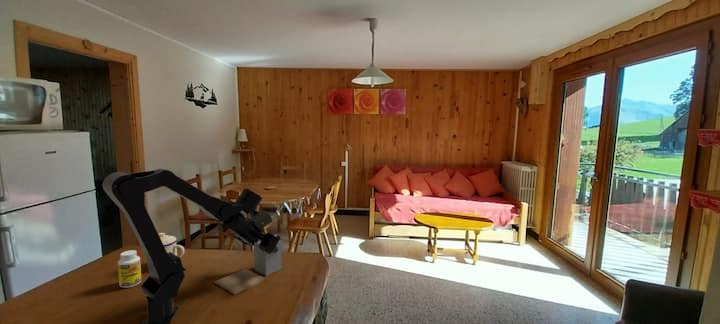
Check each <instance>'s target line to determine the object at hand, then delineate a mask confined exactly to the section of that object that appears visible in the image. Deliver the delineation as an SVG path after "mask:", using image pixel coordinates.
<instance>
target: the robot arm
mask: <svg viewBox="0 0 720 324" xmlns="http://www.w3.org/2000/svg"><path fill="white" fill-rule="evenodd" d="M101 185H102V188H103V191H104V193H106V195H107V196H108V197H109V198H110V199H111V201H112V202H113V203H114V204H115V205H116V206H117V207H118V208H119V209H120V210H121V211H122V212H123V214H124V216H125V217H126V220H127V221H128V224H129V226H130V227H131V229H132V232H133V234H134V235H135V237H136V239H137V241H138V243H139V245H140V247H141V249H142V251H143V253H144V254H145V256H146V258H147V271H148V275H149V276H148V277H147V278H146V279H145V280H144V281H143V282H142V284H140V286H139V288H140V289H141V292H142V293H143V294H145V295H146V309H147V312H146V313H147V316H146V318H145V319H144V320H143V322H142V323H141V324H171V322H173V319H174V318H175V317H176V315H177V313H178V311H179V310H180V306H175V305H174V304H175V303H174V301H175V300H174V298H175V297H177V296H178V293H179V290H180V287H181V284H182V283H183V281H184V279H185V277H186V275H185V271H186V270H187V269H186V268H185V267H184V266H183V263H182V260H181V258H180V257H178V256H179V255H177V256H176V255H174V254H173V253H171V252H169V253H167V251H166V249H165V247H164V245H163V243H162V241H161V239H160V237H159V235H158V234H159V233H158V231H157V228H156V226H155V225H154V222H153V220H152V218H151V216H150V214H149V212H148V210H147V208H146V195H145V193H148V192H152V191H154V190H156V189H159V188H162V187H164V188H165V189H167V190H169V191H171V192H172V193H174V194H176V195H178V196H180V197H182V198H183V199H185V200H187V201H189V202H190V203H192V204H194V205H195V206H197V207H198V209H199V210H200V211H201V212H203V214H205V215H206V216H207V217H209V218H211V219H214V220H217V221H219V222H217V231H218V232H220V233H223V234H225V233H226V232H227V231H228V230H229V231H231V233H233V235H232V236H233V237H232V238H233V239H234V240H236V241H237V242H238V243H242V244H244V245H247V246H252V247H254V243H257V242H258V241H261V242H260V244H259V249H260V250H261V251H263V252H266V253H268V254H270V253H272V252H274V253H277V251H278V248H277V246H276V245H277V243H278V242H279V241H281V236H280V235H279V234H278V233H276V232H273V231H268V232H266V233H263V232H264V231H265V228H264V227H266V226H267V225H268V224H269V223H271V222H272V221H273V218H272V216H271V214H270V212H269V211H267V210H262V209H261V210H258V211H257V210H256V209H257V208H258V206H259V205H260V204H261V202H262V201H263V197H262V196H261V195H260V194H257V193H256V192H254V191H252V190H250V188H244V189H243V190H242V192H241V194H240V195H239V196H238V198H237V199H236V200H235V201H232V200H224V199H222V198H218V197H216V196H212V195H210V194H208V193H206V192H205V191H203V190H202V189H200V188H198V187H197V186H195V185H194V184H191V183H190V182H188V181H186V180H184V179H183V178H181V177H180V176H178V175H177V174H175V173H174V172H173V170H172V171H171V170H169V169H165V168H157V169H154V170H153V169H151V170H148V171H145V170H144V171H138V172H131V173H130V172H129V173H126V172H123V171H122V172H121V171H120V172H118V171H116V172H112V173H110V174H108V175H107V176H106V177H105V178H104V180H103V181H102V184H101ZM246 216H249V218H250V219H249V218H247V217H246Z"/></svg>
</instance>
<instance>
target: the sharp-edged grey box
mask: <svg viewBox="0 0 720 324" xmlns="http://www.w3.org/2000/svg"><path fill="white" fill-rule="evenodd" d="M260 242H261V241H258V242H257V243H254V246H253V261H254V265H253V266H254V271H256V273H257V272H258V273H259V274H260V275H263V276H265V277H266V276H268V275H271V274H273V273H276V272H277V271H280V270H281V269H283V268H282V241H281V240H279V242H278V243H277V245H276V246H277V248H278V251H277V253H274V252H272V253H270V254H268V253H266V252H263V251H261V250H260V249H259V244H260Z"/></svg>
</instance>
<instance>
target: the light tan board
mask: <svg viewBox="0 0 720 324" xmlns="http://www.w3.org/2000/svg"><path fill="white" fill-rule="evenodd" d="M266 280H267V278H266V277H264V276H262V275H261V274H258V273H257V272H256V273H255V272H253V271H252V270H249V269H247V268H244V269H242V270H239V271H237V272H234V273H232V274H230V275H227V276H224V277H222V278H220V279H218V280H216V281H214V284H215V285H216V286H219V287H221V289H224V290H226V291H227V292H229V293H230V294H232V295H234V296H235V295H238V294H240V293H242V292H245V291H246V290H249V289H250V288H253V287H254V286H257V285H259V284H261V283H263V282H265V281H266Z"/></svg>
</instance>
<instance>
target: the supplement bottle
mask: <svg viewBox="0 0 720 324" xmlns="http://www.w3.org/2000/svg"><path fill="white" fill-rule="evenodd" d="M141 265H142V264H141V257H140V256H139V255H138V253H137V250H135V249H134V250H133V249H132V250H131V249H129V250H126V251H123V252H122V253H120V258H119V260H118V261H117V270H118V283H119V284H118V285H119V287H120V288H123V289H124V288H125V289H127V288H132V287H135V286H138V285H139V284H141V282H142V266H141Z"/></svg>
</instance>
